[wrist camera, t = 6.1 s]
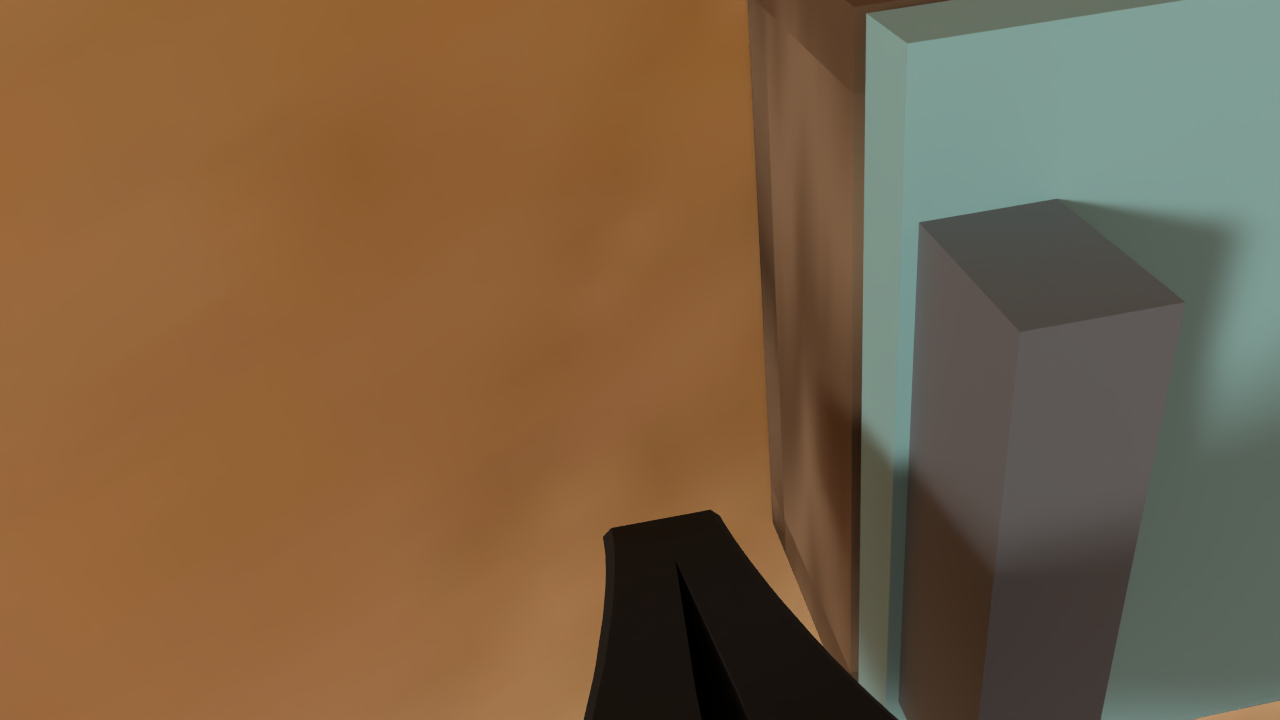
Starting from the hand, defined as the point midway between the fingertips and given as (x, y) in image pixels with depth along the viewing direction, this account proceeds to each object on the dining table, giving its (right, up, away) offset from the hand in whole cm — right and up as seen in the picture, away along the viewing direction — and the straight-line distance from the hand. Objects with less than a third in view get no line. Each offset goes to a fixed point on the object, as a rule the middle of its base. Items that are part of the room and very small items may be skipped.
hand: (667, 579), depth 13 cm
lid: (+9, +2, +2) cm, 9 cm away
